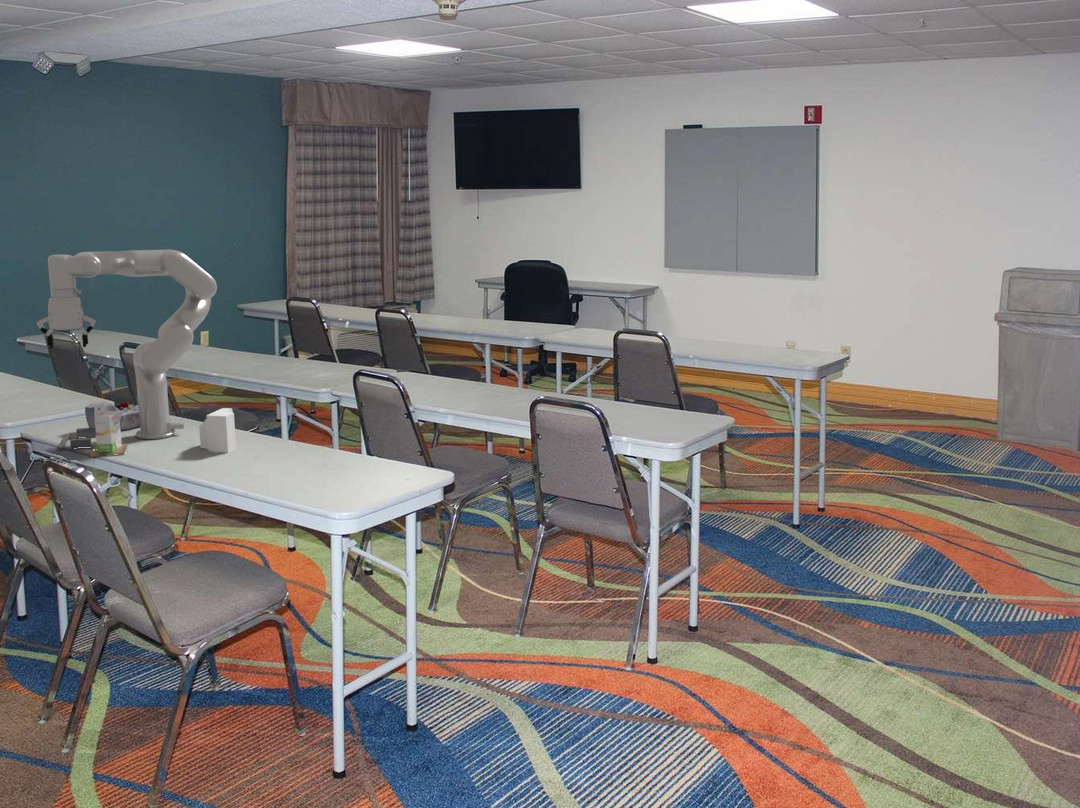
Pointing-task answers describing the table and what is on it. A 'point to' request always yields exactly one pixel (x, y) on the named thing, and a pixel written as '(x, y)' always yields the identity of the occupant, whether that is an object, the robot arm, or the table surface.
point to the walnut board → (117, 451)
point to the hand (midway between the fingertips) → (68, 347)
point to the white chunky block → (218, 431)
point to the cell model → (126, 414)
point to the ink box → (107, 429)
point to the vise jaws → (80, 442)
